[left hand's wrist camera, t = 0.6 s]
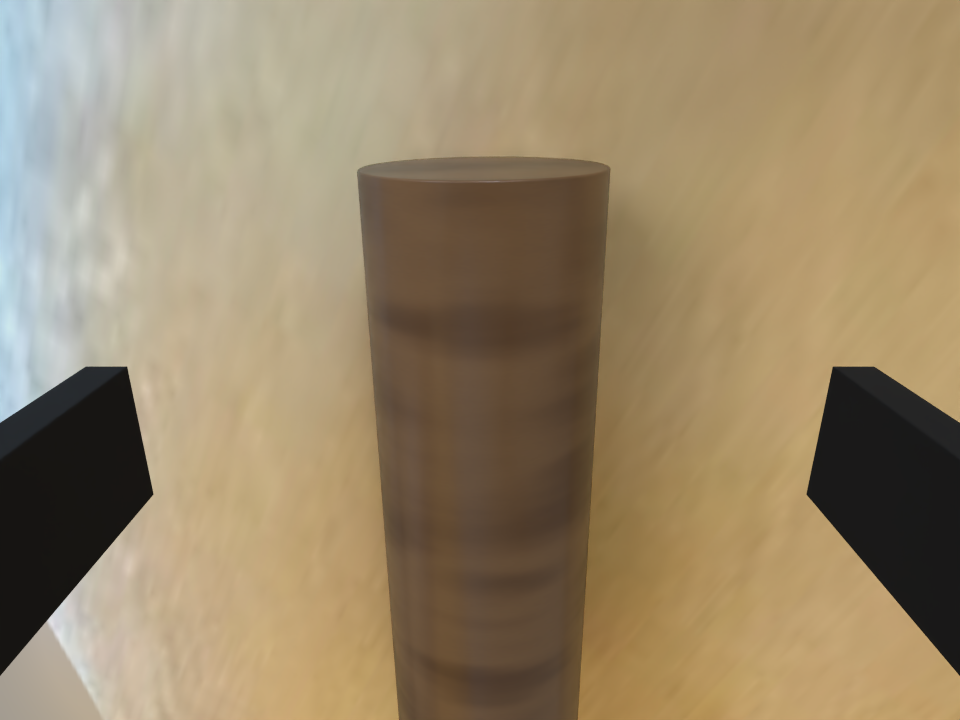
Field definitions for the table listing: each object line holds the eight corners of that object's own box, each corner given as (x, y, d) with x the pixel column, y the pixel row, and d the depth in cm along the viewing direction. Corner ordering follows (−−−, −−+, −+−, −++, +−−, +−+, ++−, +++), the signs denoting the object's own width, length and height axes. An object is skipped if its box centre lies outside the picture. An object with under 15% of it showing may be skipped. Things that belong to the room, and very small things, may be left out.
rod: (376, 157, 26) (332, 182, 18) (589, 155, 26) (635, 178, 18) (410, 668, 36) (390, 826, 28) (564, 667, 36) (588, 826, 28)
